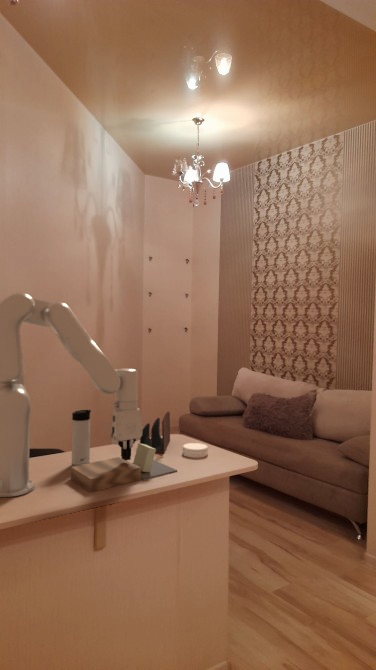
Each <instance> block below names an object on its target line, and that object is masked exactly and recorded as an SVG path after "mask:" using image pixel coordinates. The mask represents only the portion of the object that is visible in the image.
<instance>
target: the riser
mask: <svg viewBox="0 0 376 670" xmlns="http://www.w3.org/2000/svg"><path fill="white" fill-rule="evenodd" d="M132 463H133V462H130V461H129V460H127V461H126V460H124V459H122V457H119V456H117V457H112V458H107V459H103V460H99V461H94V462H90V463H88V464H83V465H78V466H70V480H72V481H73V482H75V483H76V484H78V485H79V486H80V487H82V488H83V489H86V490H87V491H88V492H90V493H92V492H96V491H100V490H104V489H108V488H111V487H112V488H113V487H116V486H120V485H124V484H130V483H132V482H137V481H140V480H142V479H141V467H139V466H137V465H134V464H132Z"/></svg>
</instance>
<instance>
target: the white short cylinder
mask: <svg viewBox="0 0 376 670" xmlns="http://www.w3.org/2000/svg"><path fill="white" fill-rule="evenodd" d="M208 449H209V447H208V445H207V444H205V443H200V442H189V443H185V444H183V445H182V455H183V456H184V457H188V458H191V459H192V458H193V459H199V458H200V459H201V458H205V457H207V456H208V454H209V452H208V451H209V450H208Z"/></svg>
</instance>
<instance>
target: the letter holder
mask: <svg viewBox="0 0 376 670" xmlns="http://www.w3.org/2000/svg"><path fill="white" fill-rule="evenodd" d="M170 415H171V414H170V411H167V412H165V414H164V415H163V418H162V421H161V419H160V417H157V418H156V419H155V420H154V422H153V423H152V426H151V425H150V423H149V422H147V423H146V424H145V425H144V427H142V436H141V437H140V440H139V443H140V444H146V445H148V446H150V447H152V448H155V449H156V451H155V454H156V455H158V454H159V455H165V452H166V450H167V448H168V446H169V444H170V442H171V417H170ZM160 421H161V422H160ZM160 423H161V425H160ZM160 426H161V428H160ZM150 427H151V431H150ZM160 429H161V430H160ZM160 431H161V433H162V435H160ZM150 434H151V435H150ZM150 438H151V439H150Z"/></svg>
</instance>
